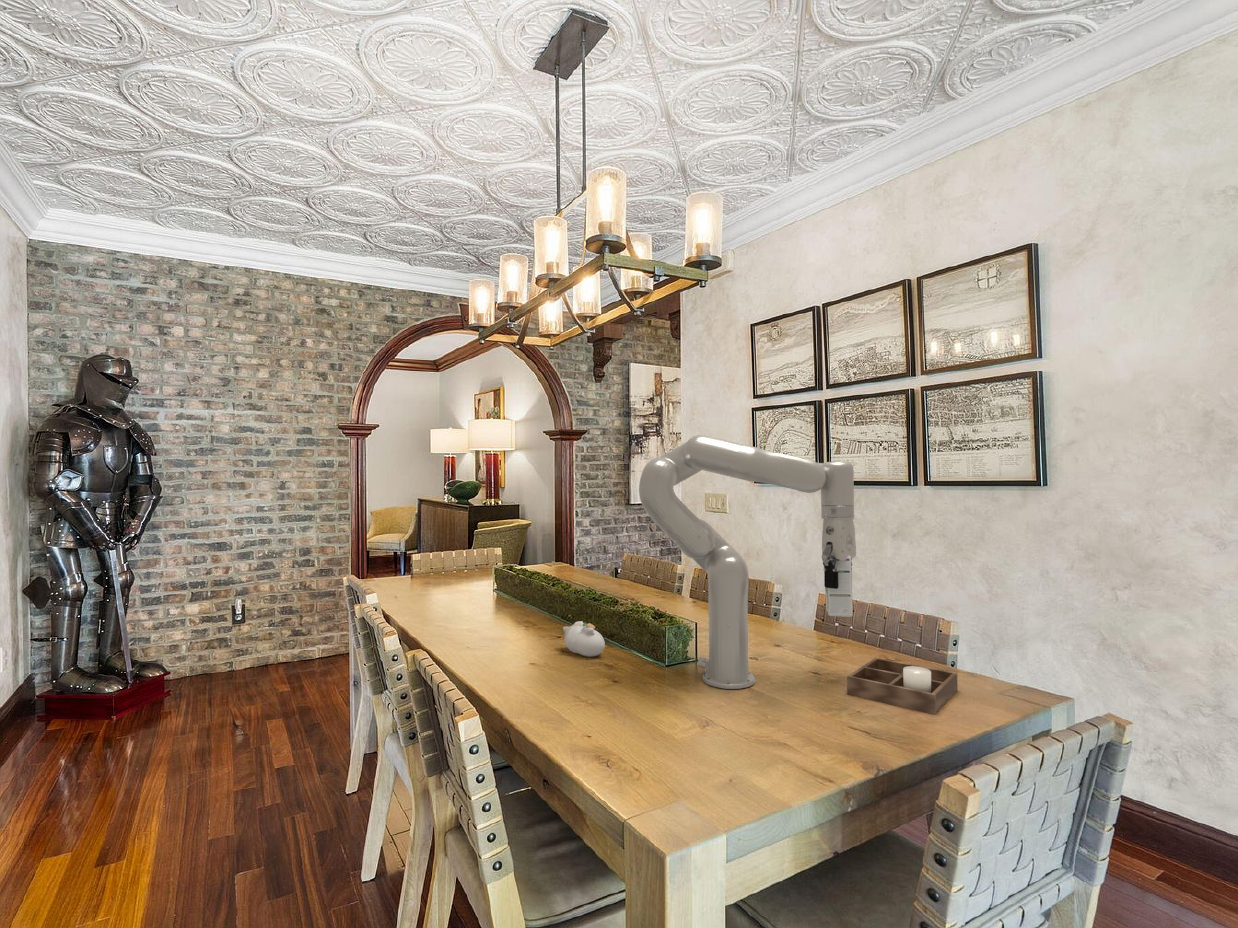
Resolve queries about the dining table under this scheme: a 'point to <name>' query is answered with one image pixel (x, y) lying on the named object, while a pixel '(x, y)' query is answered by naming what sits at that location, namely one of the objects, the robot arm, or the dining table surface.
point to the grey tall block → (841, 591)
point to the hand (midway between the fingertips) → (838, 584)
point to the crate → (901, 686)
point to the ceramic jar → (917, 678)
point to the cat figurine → (583, 639)
